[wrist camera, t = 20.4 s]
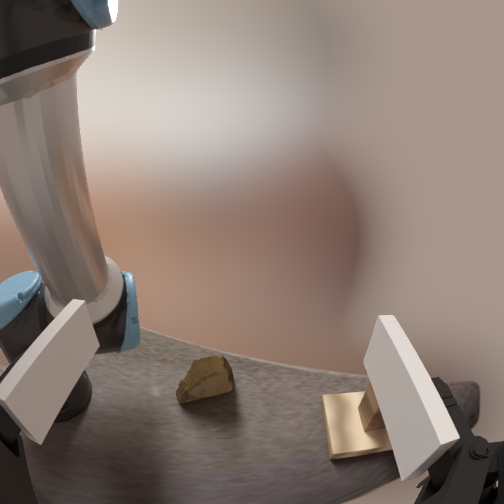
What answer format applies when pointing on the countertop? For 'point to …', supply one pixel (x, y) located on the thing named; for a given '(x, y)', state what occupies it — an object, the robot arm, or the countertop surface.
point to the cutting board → (350, 427)
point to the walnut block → (370, 411)
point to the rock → (206, 379)
